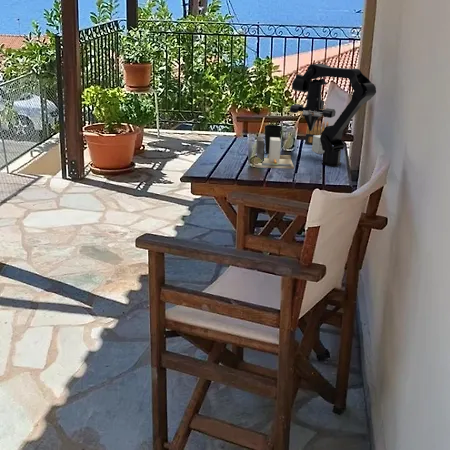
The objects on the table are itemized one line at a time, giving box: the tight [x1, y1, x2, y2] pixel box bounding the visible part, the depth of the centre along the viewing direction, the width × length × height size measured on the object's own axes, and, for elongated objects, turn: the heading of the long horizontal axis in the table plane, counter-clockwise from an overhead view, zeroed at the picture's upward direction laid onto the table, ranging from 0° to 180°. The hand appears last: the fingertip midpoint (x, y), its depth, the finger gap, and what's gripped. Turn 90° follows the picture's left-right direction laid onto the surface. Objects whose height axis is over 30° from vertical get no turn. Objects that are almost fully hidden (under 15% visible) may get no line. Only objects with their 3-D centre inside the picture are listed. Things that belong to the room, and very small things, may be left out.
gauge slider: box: [268, 137, 282, 163], centre depth 266 cm, size 4×10×9 cm, turn 1°
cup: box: [264, 124, 283, 155], centre depth 284 cm, size 8×8×12 cm
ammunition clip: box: [304, 120, 329, 146], centre depth 303 cm, size 11×2×12 cm, turn 68°
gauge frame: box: [253, 136, 295, 170], centre depth 266 cm, size 16×12×10 cm
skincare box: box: [311, 135, 325, 155], centre depth 291 cm, size 6×6×7 cm
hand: (310, 130), depth 276 cm, fingers closed
